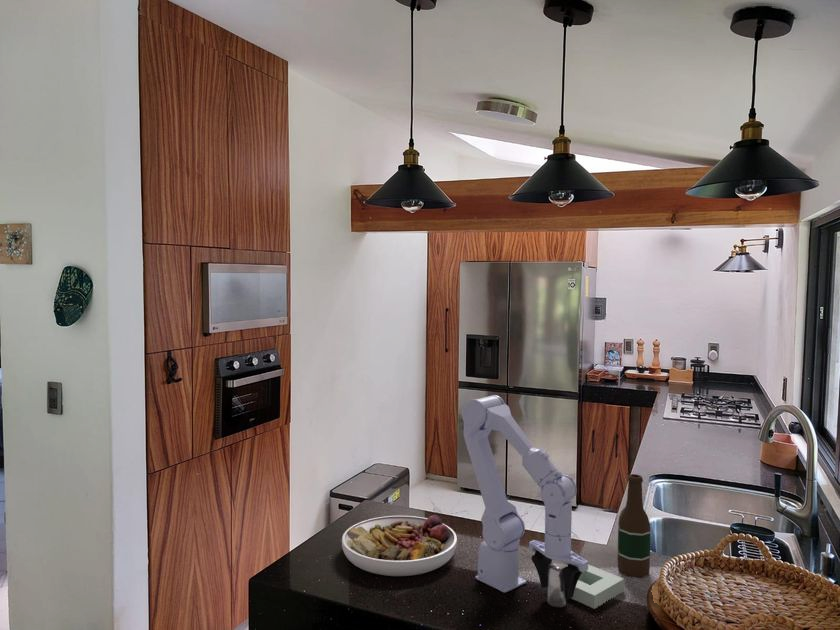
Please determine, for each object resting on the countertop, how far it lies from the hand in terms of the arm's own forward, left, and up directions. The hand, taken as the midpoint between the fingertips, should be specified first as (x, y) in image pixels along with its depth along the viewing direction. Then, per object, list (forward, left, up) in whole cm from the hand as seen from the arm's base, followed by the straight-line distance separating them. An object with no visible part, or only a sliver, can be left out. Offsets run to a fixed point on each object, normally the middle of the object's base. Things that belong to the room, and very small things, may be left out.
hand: (556, 591), depth 136 cm
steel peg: (0, 0, -2) cm, 2 cm away
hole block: (+1, +10, -2) cm, 10 cm away
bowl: (-42, -11, -3) cm, 44 cm away
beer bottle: (+3, +27, -3) cm, 27 cm away
